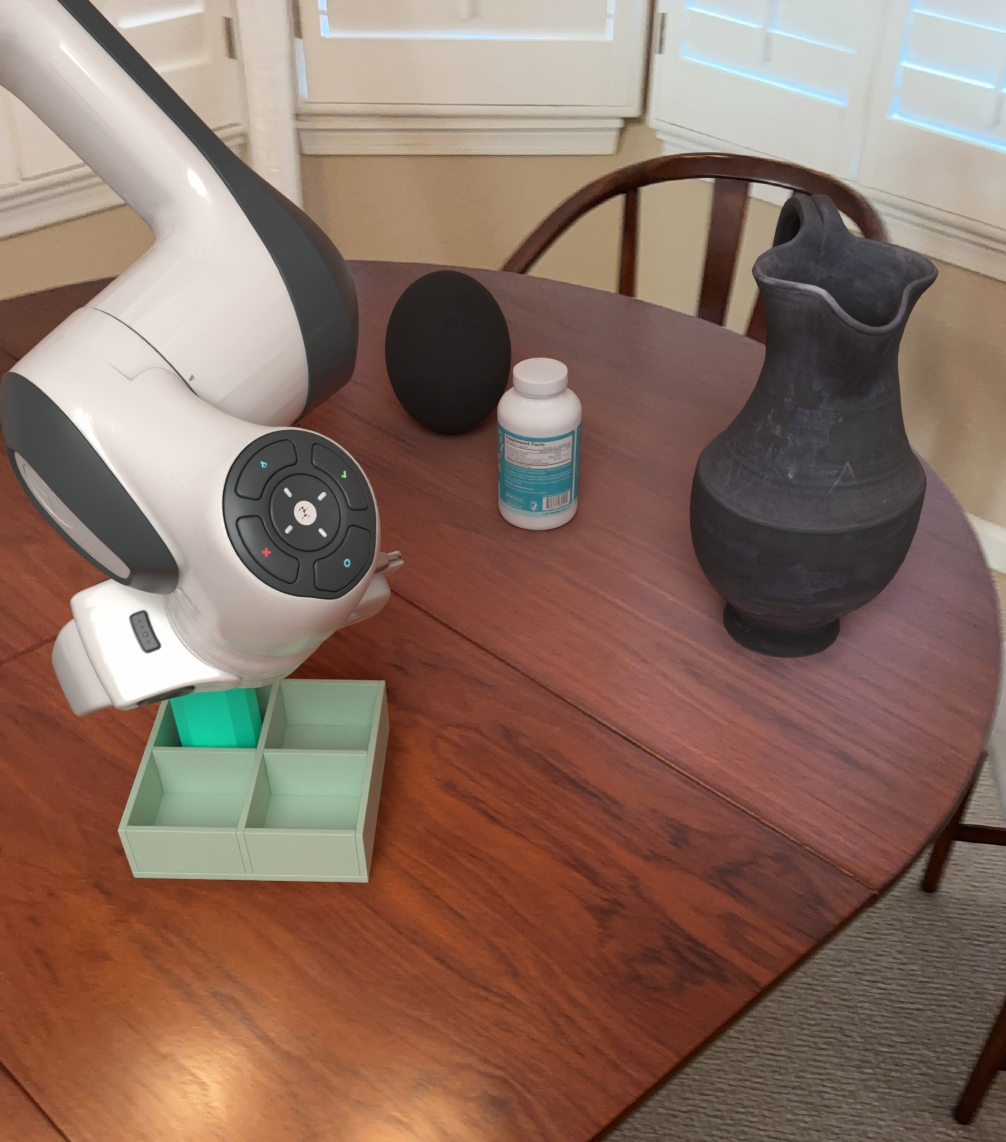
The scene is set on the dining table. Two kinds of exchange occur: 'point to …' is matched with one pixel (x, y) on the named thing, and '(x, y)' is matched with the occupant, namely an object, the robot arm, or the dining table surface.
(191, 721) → the candle
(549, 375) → the pill bottle
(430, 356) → the decorative egg
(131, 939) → the dining table surface
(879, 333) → the pitcher
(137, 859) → the compartment tray
